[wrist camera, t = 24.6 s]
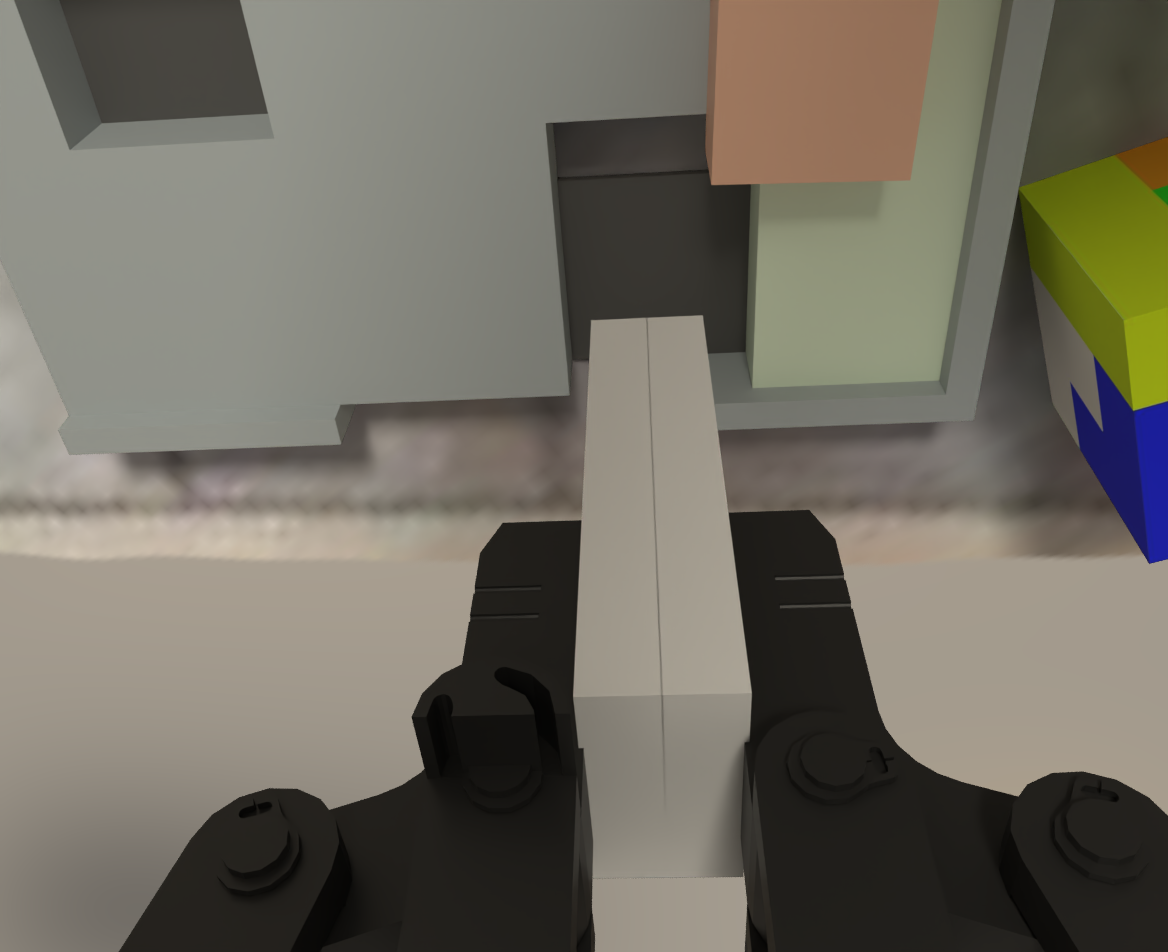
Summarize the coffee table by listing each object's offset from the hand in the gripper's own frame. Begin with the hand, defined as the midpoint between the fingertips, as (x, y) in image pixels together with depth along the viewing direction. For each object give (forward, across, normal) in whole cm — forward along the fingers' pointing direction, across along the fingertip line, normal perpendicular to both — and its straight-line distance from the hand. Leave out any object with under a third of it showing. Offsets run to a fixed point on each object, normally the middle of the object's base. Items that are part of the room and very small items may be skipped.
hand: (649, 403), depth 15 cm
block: (+21, +5, -1) cm, 22 cm away
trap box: (+24, -6, -4) cm, 26 cm away
